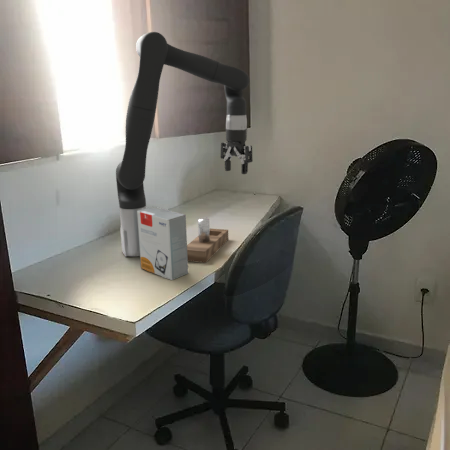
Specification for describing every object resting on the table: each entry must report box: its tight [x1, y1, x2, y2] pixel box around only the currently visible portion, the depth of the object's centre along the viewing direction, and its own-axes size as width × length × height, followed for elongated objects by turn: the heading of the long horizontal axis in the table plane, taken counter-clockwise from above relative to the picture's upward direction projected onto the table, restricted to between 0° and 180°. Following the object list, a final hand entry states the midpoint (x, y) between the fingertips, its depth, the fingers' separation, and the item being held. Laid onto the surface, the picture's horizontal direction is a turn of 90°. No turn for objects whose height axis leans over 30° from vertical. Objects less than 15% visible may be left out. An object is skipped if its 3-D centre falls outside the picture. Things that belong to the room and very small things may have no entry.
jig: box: [187, 227, 229, 263], centre depth 184 cm, size 25×8×4 cm, turn 162°
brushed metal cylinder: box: [197, 217, 211, 243], centre depth 180 cm, size 4×4×8 cm
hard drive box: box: [137, 206, 189, 281], centre depth 162 cm, size 16×8×20 cm, turn 47°
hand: (236, 172), depth 188 cm, fingers open, 8 cm apart
